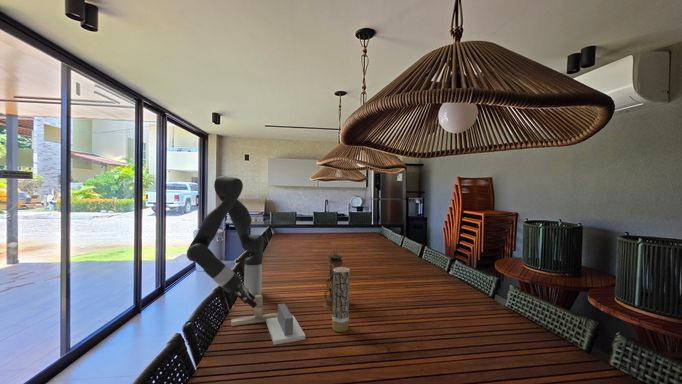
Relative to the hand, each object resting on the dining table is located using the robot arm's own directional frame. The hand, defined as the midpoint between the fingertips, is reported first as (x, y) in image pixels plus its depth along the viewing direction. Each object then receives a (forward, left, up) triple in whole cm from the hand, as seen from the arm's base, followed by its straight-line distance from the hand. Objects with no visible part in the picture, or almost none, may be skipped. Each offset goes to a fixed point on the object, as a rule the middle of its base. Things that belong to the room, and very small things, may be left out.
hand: (254, 302), depth 122 cm
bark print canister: (+20, +33, -8) cm, 39 cm away
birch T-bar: (0, +2, -8) cm, 9 cm away
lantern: (-5, +41, -8) cm, 42 cm away
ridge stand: (+13, +11, -8) cm, 19 cm away
